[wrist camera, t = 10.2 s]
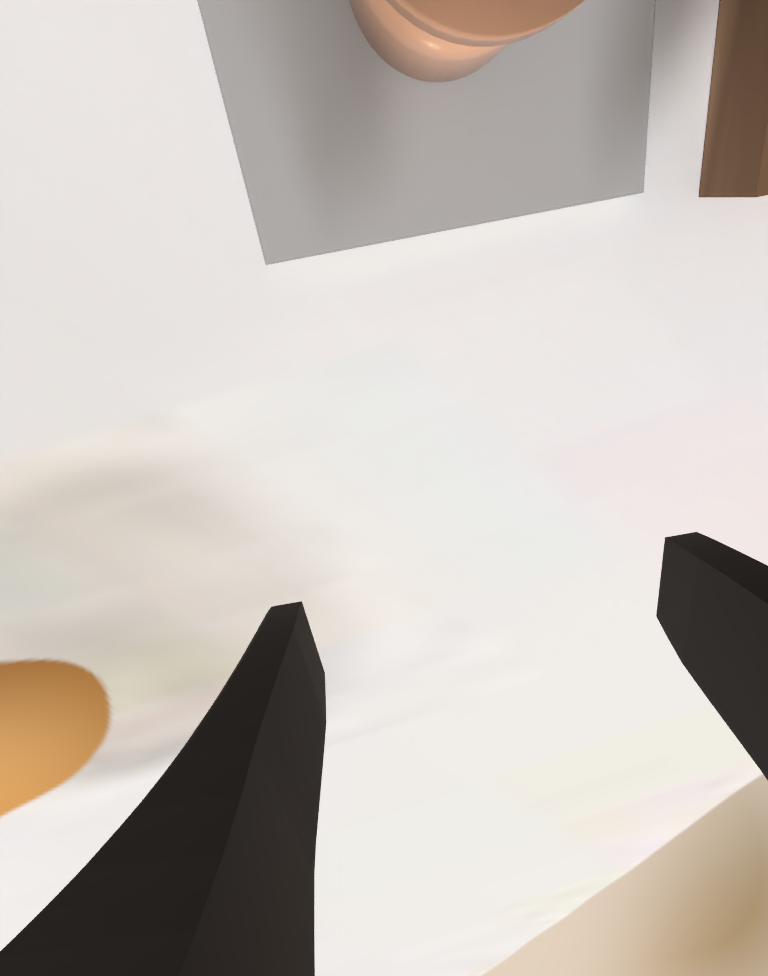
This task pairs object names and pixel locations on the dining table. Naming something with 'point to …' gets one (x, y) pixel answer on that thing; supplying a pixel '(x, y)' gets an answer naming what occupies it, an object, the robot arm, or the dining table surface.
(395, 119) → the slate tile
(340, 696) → the dining table surface
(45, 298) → the dining table surface
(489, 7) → the terracotta pot
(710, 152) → the cold frame
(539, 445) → the dining table surface
